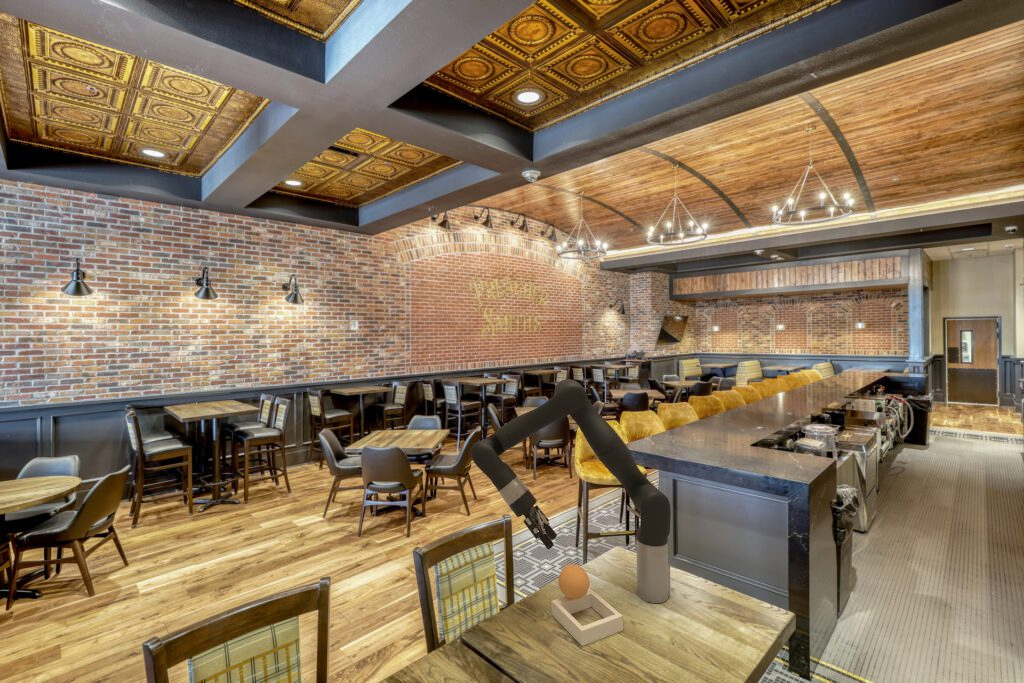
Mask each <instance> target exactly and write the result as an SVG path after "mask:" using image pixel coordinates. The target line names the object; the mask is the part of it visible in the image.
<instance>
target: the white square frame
mask: <svg viewBox="0 0 1024 683" xmlns="http://www.w3.org/2000/svg"><path fill="white" fill-rule="evenodd" d="M589 608H592V609H593V610H594V611H595V612H596V613H598V614H599V615H600V616H601V617H602V618H601V619H599V620H595V621H593V622H590V623H588V624H585V625H582V624H581V623H580V622H579V621H578V620H577V619H576V618H575V617H574V616H573V614H575V613H578V612H582V611H584V610H587V609H589ZM551 615H552V616H553V617H554V618H555V620H556V621H558V623H559V624H560V625H561V626H562V627H563V628H564V629H565V630H566V631H567V632H568V633H569V634H570V635H571V636H572V638H574V639H575V641H576V642H577V643H578V644H579V645H581V647H584V646H586V645H589V644H592V643H594V642H597V641H600V640H601V639H604V638H608V637H610V636H611V635H615V634H618V633H620V632H622V631H624V624H623V623H624V622H623V621H624V618H623V615H622V614H621V613H620V612H619V611H617V609H615V608H614V607H613V606H611V605H610V604H609V603H608V602H607V601H606V600H604V599H603V598H602V597H601V596H599V594H597V593H596V592H595V591H593V590H592V589H591V588H590V587H589V589H588V591H587V593H586V594H585V595H584V596H583V597H582V598H580V599H570V598H568V597H566V596H565V595H564V596H562V597H558V598H556V599H553V600H551Z"/></svg>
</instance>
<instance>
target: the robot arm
mask: <svg viewBox="0 0 1024 683" xmlns="http://www.w3.org/2000/svg"><path fill="white" fill-rule="evenodd" d="M568 416H570V417H571V419H572V420H573V421H574V422H575V423H576V425H577V426H578V428H579V429H580V431H581V433H582V434H583V436H584V438H585V440H586V442H587V443H588V445H589V447H590V448H591V449H592V451H593V453H594V454H595V455H596V456H597V458H598V459H599V461H600V462H601V463H602V464H603V465H604V467H605V469H607V470H608V472H609V473H610V474H612V476H613V477H615V479H616V480H618V482H619V484H620V485H622V487H623V489H624V491H625V492H626V493H627V495H628V496H629V498H630V500H631V502H632V504H633V505H634V507H635V509H636V510H637V511H638V513H640V526H639V527H638V528H637V529H636V536H635V537H636V545H635V546H636V595H637V596H638V597H639V598H640V599H641V600H642V601H645V602H648V603H650V604H661V603H665V602H666V601H667V600H668V598H669V597H670V596H671V566H670V564H669V563H668V562H669V561H668V560H669V557H668V555H669V554H668V553H669V551H668V537H669V535H670V532H671V517H672V516H671V513H672V512H671V504H670V503H671V502H670V500H669V497H667V495H665V493H663V492H662V491H661V490H660V489H659V488H658V487H656V486H655V485H654V484H653V483H652V482H651V481H650V480H649V479H648V478H647V477H646V476H645V474H643V472H642V471H641V470H640V469H639V467H638V465H637V463H636V460H635V458H634V457H633V454H632V452H631V451H630V449H629V448H628V445H626V443H625V442H624V440H623V439H622V438H621V437H620V435H619V434H618V433H617V432H616V430H615V429H614V428H613V427H612V426H611V424H610V423H609V422H608V421H606V419H605V418H603V417H602V415H601V414H600V413H599V412H598V411H597V410H596V409H595V407H594V405H593V404H592V402H591V401H590V399H589V398H588V394H587V391H586V389H585V388H584V386H583V385H581V383H580V382H578V381H576V380H574V379H571V378H570V379H569V378H568V379H567V378H566V379H562V380H560V381H558V383H557V384H556V385H555V388H554V394H553V396H552V397H550V398H549V399H548V400H547V401H545V402H544V403H543V404H541V405H539V406H538V407H535V408H534V409H532V410H530V411H527V412H525V413H522V414H519V415H517V417H515V418H513V419H511V420H509V421H508V422H507V423H505V424H504V425H502V426H501V427H499V428H498V429H497V430H496V431H495V432H494V433H492V434H490V435H489V436H487V437H486V438H484V439H482V440H478V441H476V442H475V443H473V444H472V446H471V448H470V451H469V452H470V454H469V455H470V457H471V460H472V461H473V463H474V464H475V465H476V467H477V468H478V469H479V470H480V471H481V472H482V473H483V474H484V475H485V476H486V477H488V479H489V480H490V481H491V483H492V484H493V486H494V487H495V488H496V489H497V491H498V492H499V494H500V495H501V498H502V499H503V501H504V502H505V503H506V504H507V505H508V507H509V508H510V510H511V511H512V512H513V514H514V515H515V516H516V518H520V517H522V516H524V518H525V519H523V520H522V521H523V524H525V526H526V528H527V529H528V530H529V531H530V533H531V534H532V536H533V537H534V539H536V540H537V539H538V540H540V541H541V543H542V544H543V545H544V547H545V548H546V549H547V550H550V549H552V548H553V547H554V540H555V539H556V538H557V537H558V535H557V532H555V530H554V529H553V528H552V526H551V525H550V520H549V518H548V517H547V516H546V515H545V513H544V512H543V511H542V510H541V508H540V506H538V505H537V502H538V500H537V498H536V497H535V496H534V494H533V493H532V491H530V489H529V488H528V487H527V485H526V484H525V483H524V482H523V481H522V480H521V479H520V478H519V477H518V475H517V474H516V473H515V471H514V470H513V469H512V467H511V466H510V465H509V464H508V463H506V462H504V461H503V460H502V458H501V457H500V456H501V455H502V454H504V453H505V452H507V451H508V450H510V449H512V448H514V447H515V446H517V445H519V444H521V443H522V442H524V440H526V439H528V438H529V437H531V436H532V435H534V434H535V433H537V432H539V431H540V430H542V429H544V428H545V427H547V426H549V425H551V424H553V423H555V422H557V421H558V420H562V419H563V418H565V417H568Z"/></svg>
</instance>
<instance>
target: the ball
mask: <svg viewBox="0 0 1024 683" xmlns="http://www.w3.org/2000/svg"><path fill="white" fill-rule="evenodd" d="M557 580H558V581H557V582H558V587H559V589H560V592H561V593H562V595H564V596H566V597H568V598H570V599H580V598H582V597H583V596H584V595H585V594H586V593H587V591H588V589H589V588H590V578H589V575H588V574H587V572H586V570H585V569H584V568H583V567H582V566H580V565H577V564H569V565H566V566H564V567H563V568H562V569H561V571H560V573H559V576H558V579H557Z"/></svg>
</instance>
